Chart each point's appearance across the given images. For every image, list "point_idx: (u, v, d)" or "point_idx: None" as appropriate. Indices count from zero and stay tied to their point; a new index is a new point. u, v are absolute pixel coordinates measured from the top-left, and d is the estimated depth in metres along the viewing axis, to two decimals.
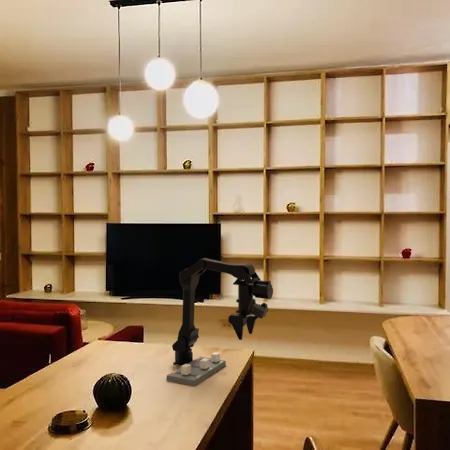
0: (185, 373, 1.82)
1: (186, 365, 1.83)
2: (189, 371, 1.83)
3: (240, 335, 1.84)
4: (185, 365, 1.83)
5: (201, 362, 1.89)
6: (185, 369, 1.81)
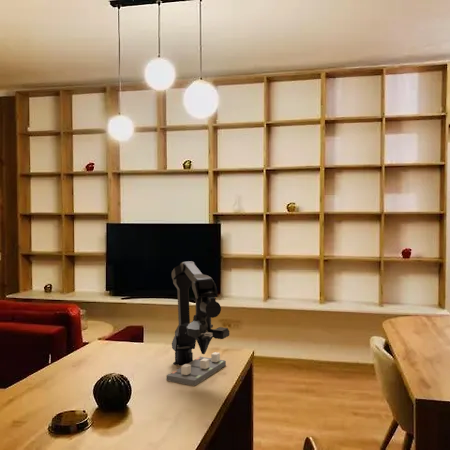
0: (185, 373, 1.82)
1: (186, 365, 1.83)
2: (189, 371, 1.83)
3: None
4: (185, 365, 1.83)
5: (201, 362, 1.89)
6: (185, 369, 1.81)
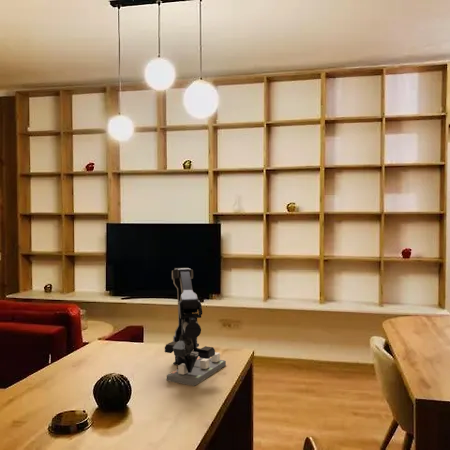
0: (182, 372, 1.82)
1: (183, 364, 1.84)
2: (186, 370, 1.84)
3: None
4: (182, 364, 1.84)
5: (201, 362, 1.89)
6: (182, 368, 1.82)
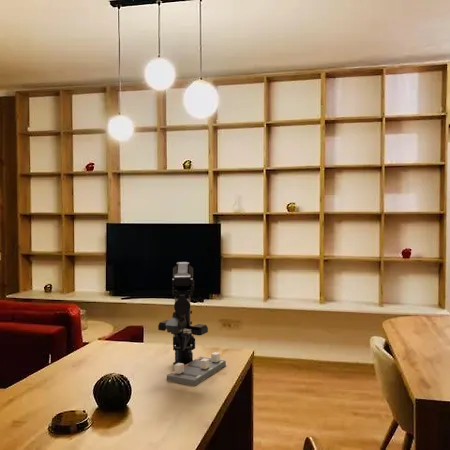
0: (178, 372, 1.83)
1: (179, 364, 1.84)
2: (182, 370, 1.84)
3: None
4: (178, 364, 1.84)
5: (201, 362, 1.89)
6: (178, 368, 1.83)
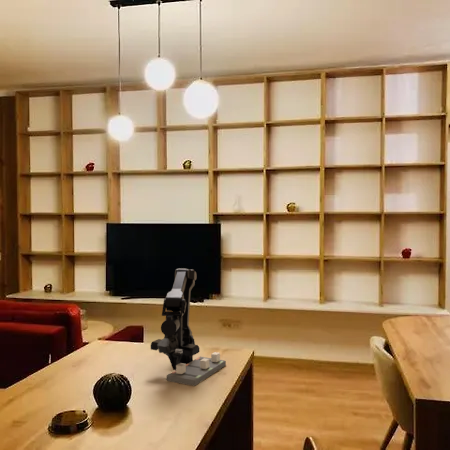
0: (180, 372, 1.83)
1: (181, 364, 1.84)
2: (184, 370, 1.84)
3: None
4: (180, 364, 1.84)
5: (201, 362, 1.89)
6: (180, 368, 1.83)
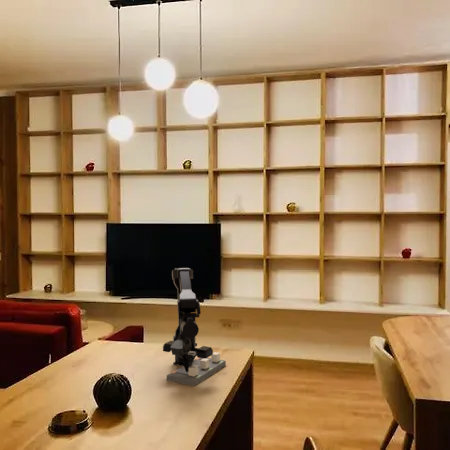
0: (192, 374, 1.80)
1: (193, 366, 1.82)
2: (196, 372, 1.82)
3: None
4: (192, 366, 1.82)
5: (201, 362, 1.89)
6: (192, 370, 1.80)
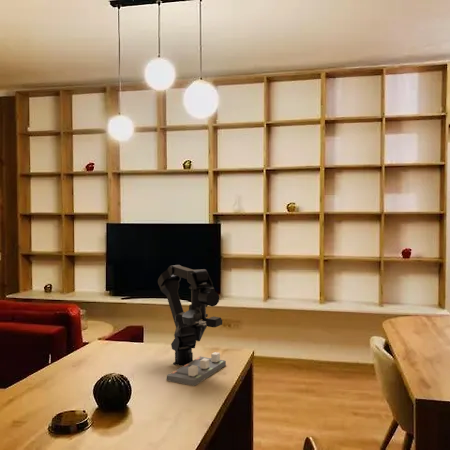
0: (192, 374, 1.80)
1: (193, 366, 1.82)
2: (196, 372, 1.82)
3: None
4: (192, 366, 1.82)
5: (201, 362, 1.89)
6: (192, 370, 1.80)
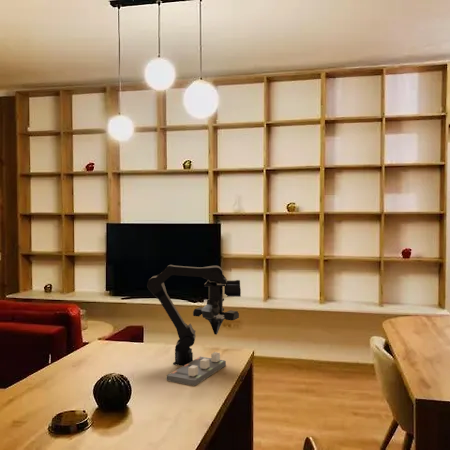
0: (192, 374, 1.80)
1: (193, 366, 1.82)
2: (196, 372, 1.82)
3: None
4: (192, 366, 1.82)
5: (201, 362, 1.89)
6: (192, 370, 1.80)
